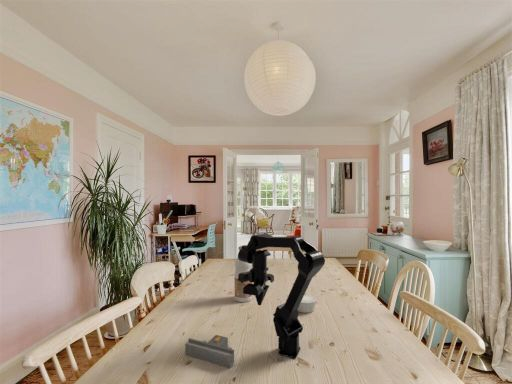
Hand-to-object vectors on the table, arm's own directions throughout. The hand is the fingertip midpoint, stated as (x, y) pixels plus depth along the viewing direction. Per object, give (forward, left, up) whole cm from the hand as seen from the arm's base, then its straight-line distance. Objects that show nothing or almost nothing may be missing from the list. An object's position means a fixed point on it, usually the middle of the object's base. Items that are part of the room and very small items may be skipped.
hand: (259, 304), depth 105 cm
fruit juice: (+22, -30, -12) cm, 39 cm away
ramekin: (-11, -31, -12) cm, 35 cm away
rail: (+10, +19, -12) cm, 25 cm away
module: (+10, +16, -12) cm, 23 cm away
